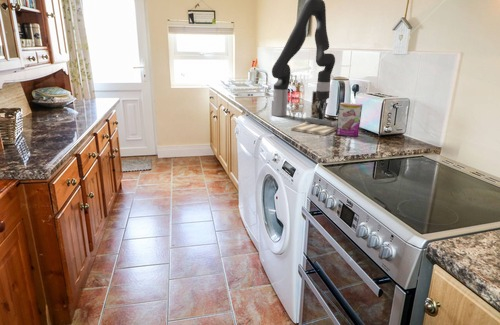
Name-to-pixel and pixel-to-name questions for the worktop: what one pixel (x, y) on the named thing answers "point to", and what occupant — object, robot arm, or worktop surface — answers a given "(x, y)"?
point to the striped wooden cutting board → (314, 128)
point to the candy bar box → (349, 119)
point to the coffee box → (313, 106)
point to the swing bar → (321, 121)
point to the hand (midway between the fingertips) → (320, 119)
